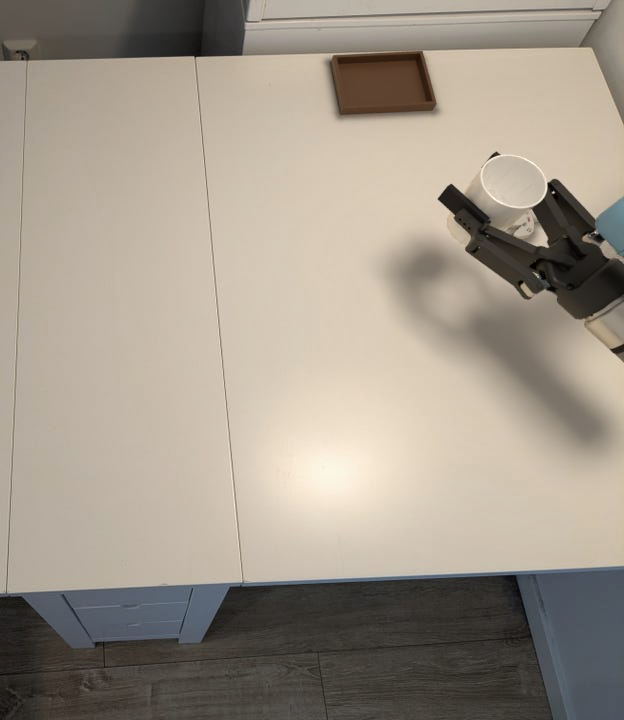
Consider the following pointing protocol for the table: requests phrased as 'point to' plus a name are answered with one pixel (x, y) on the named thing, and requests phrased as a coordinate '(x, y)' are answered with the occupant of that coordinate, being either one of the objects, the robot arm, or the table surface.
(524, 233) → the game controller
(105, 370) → the table surface
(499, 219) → the white cup
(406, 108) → the tray
